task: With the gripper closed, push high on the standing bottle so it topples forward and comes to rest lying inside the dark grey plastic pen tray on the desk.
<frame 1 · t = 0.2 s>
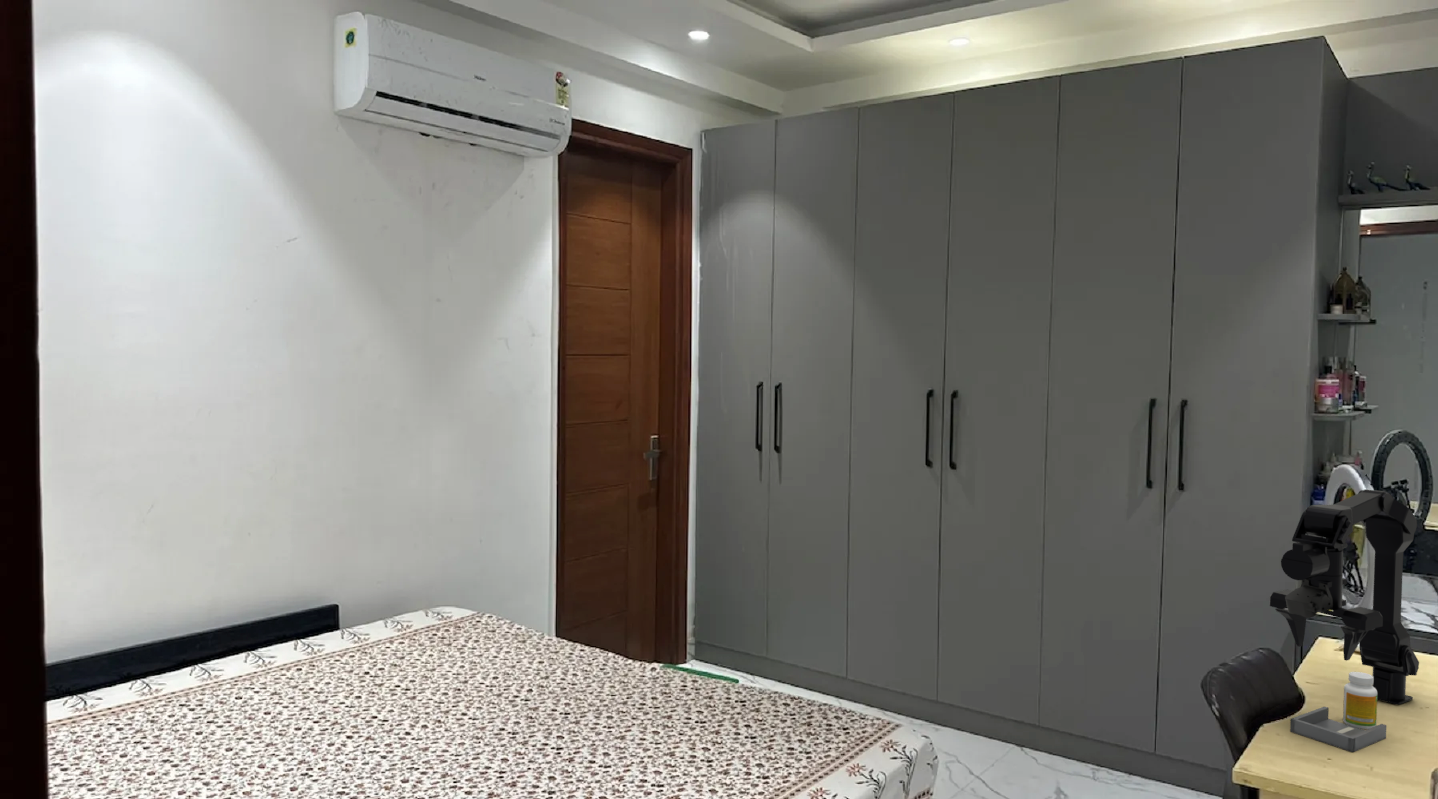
hand: (1322, 653, 186), 14 cm above the table, tool pointing down, fingers open, 9 cm apart
supplement bottle: (1359, 725, 188), on the table
tray: (1337, 734, 182), on the table
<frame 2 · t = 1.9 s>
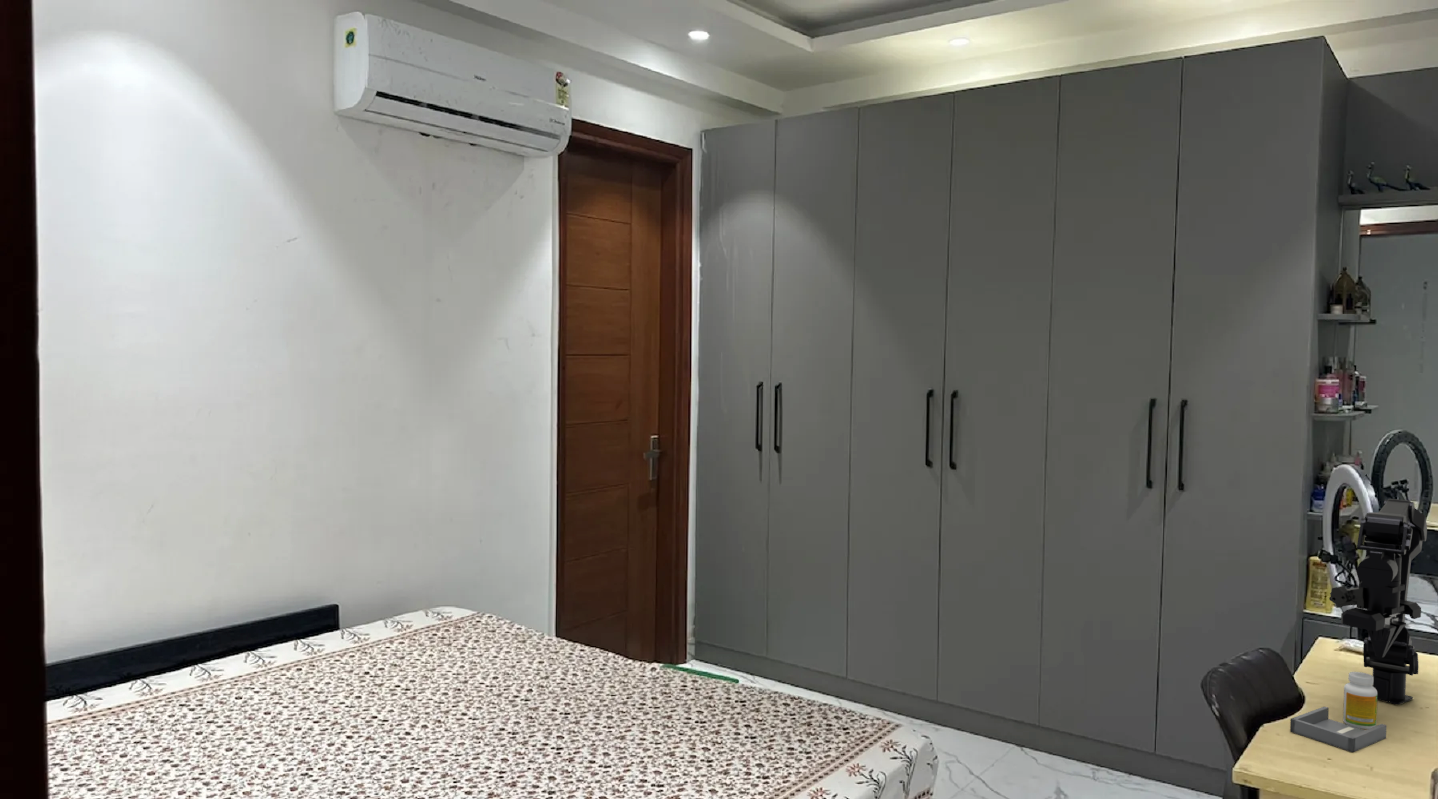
hand: (1379, 656, 190), 12 cm above the table, tool pointing down, fingers closed
nothing on the table moved.
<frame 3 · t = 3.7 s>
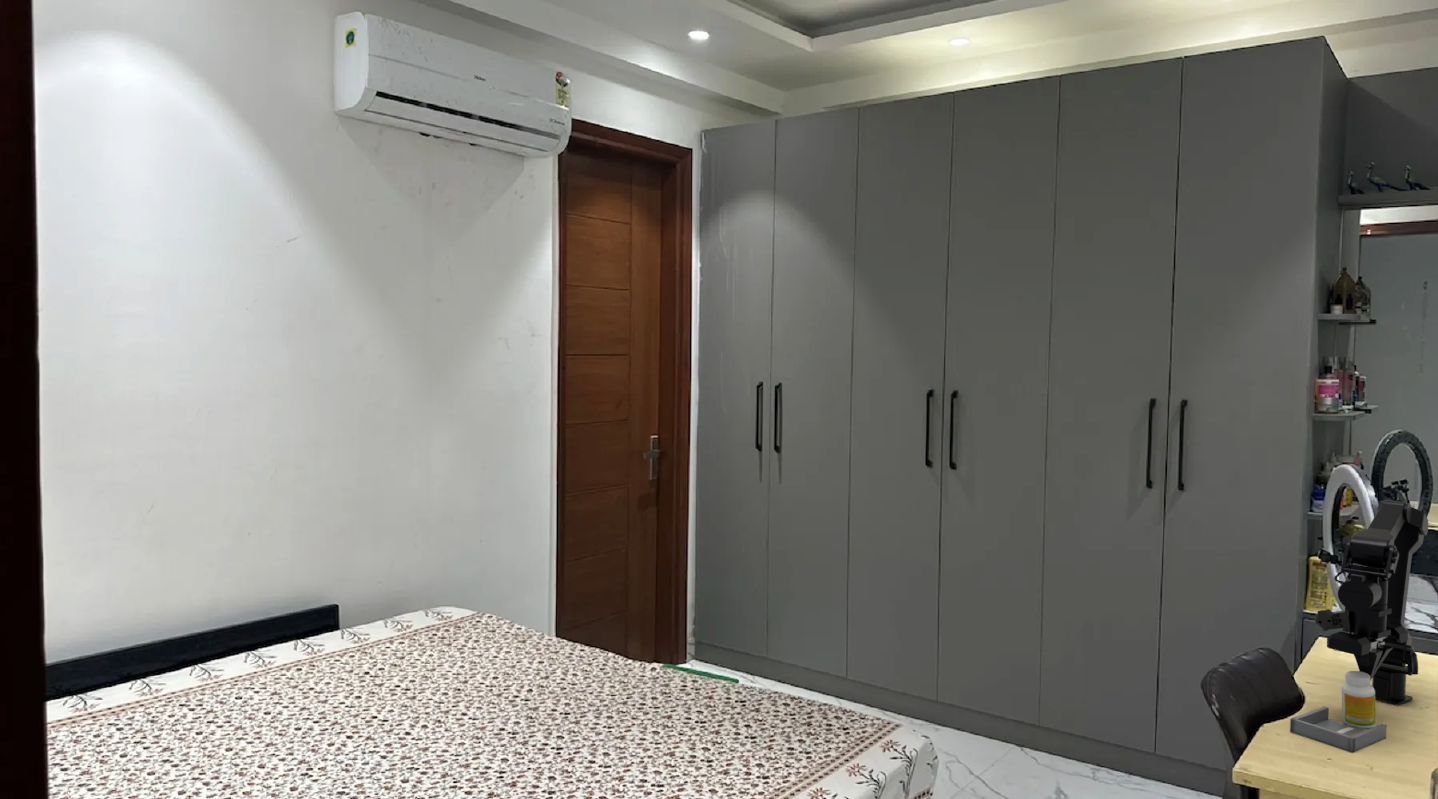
hand: (1366, 681, 188), 8 cm above the table, tool pointing down, fingers closed, pressing on supplement bottle
supplement bottle: (1359, 723, 188), on the table, touching gripper
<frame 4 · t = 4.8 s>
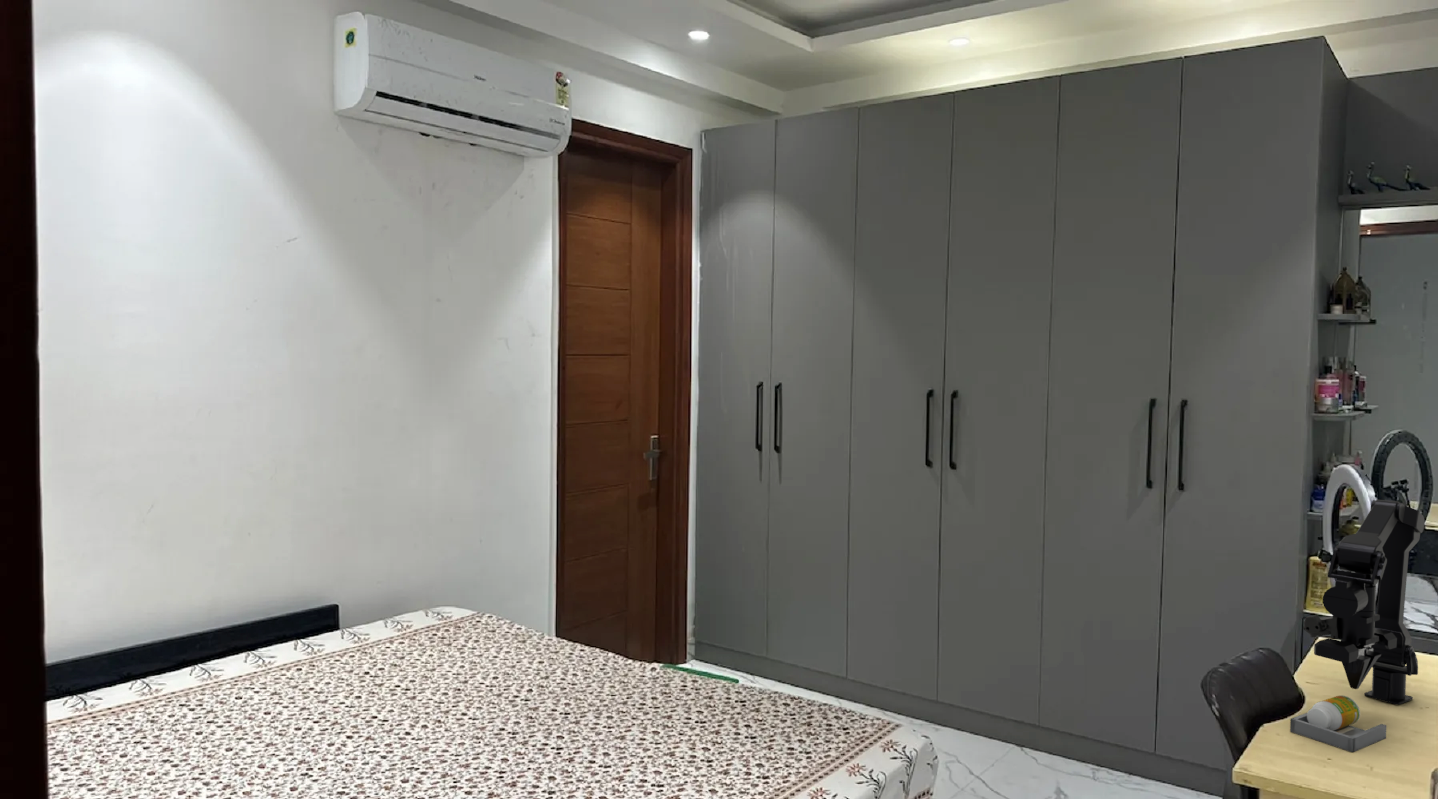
hand: (1354, 688, 186), 8 cm above the table, tool pointing down, fingers closed
supplement bottle: (1346, 709, 187), point 3 cm above the table, touching tray
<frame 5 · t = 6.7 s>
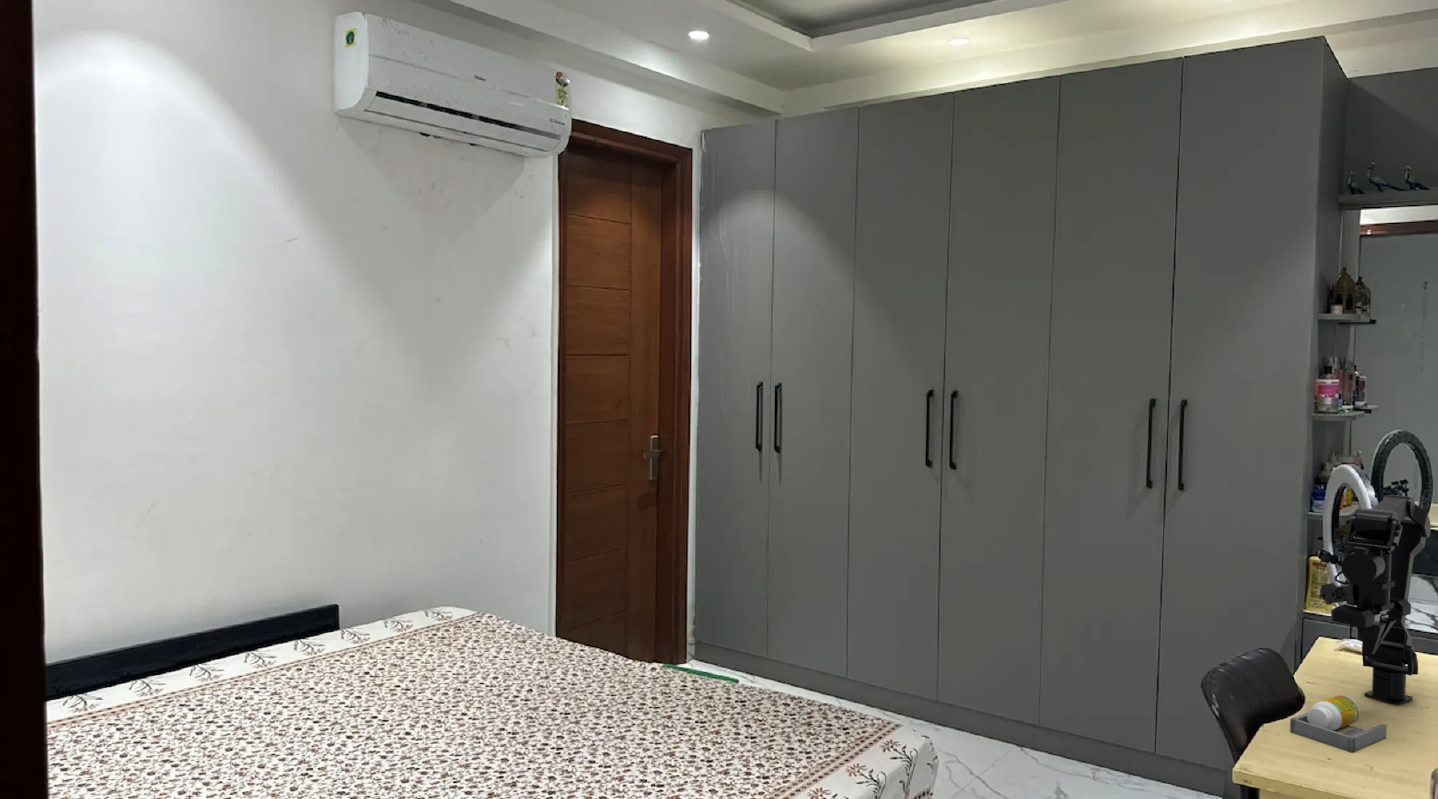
hand: (1369, 654, 189), 13 cm above the table, tool pointing down, fingers closed
nothing on the table moved.
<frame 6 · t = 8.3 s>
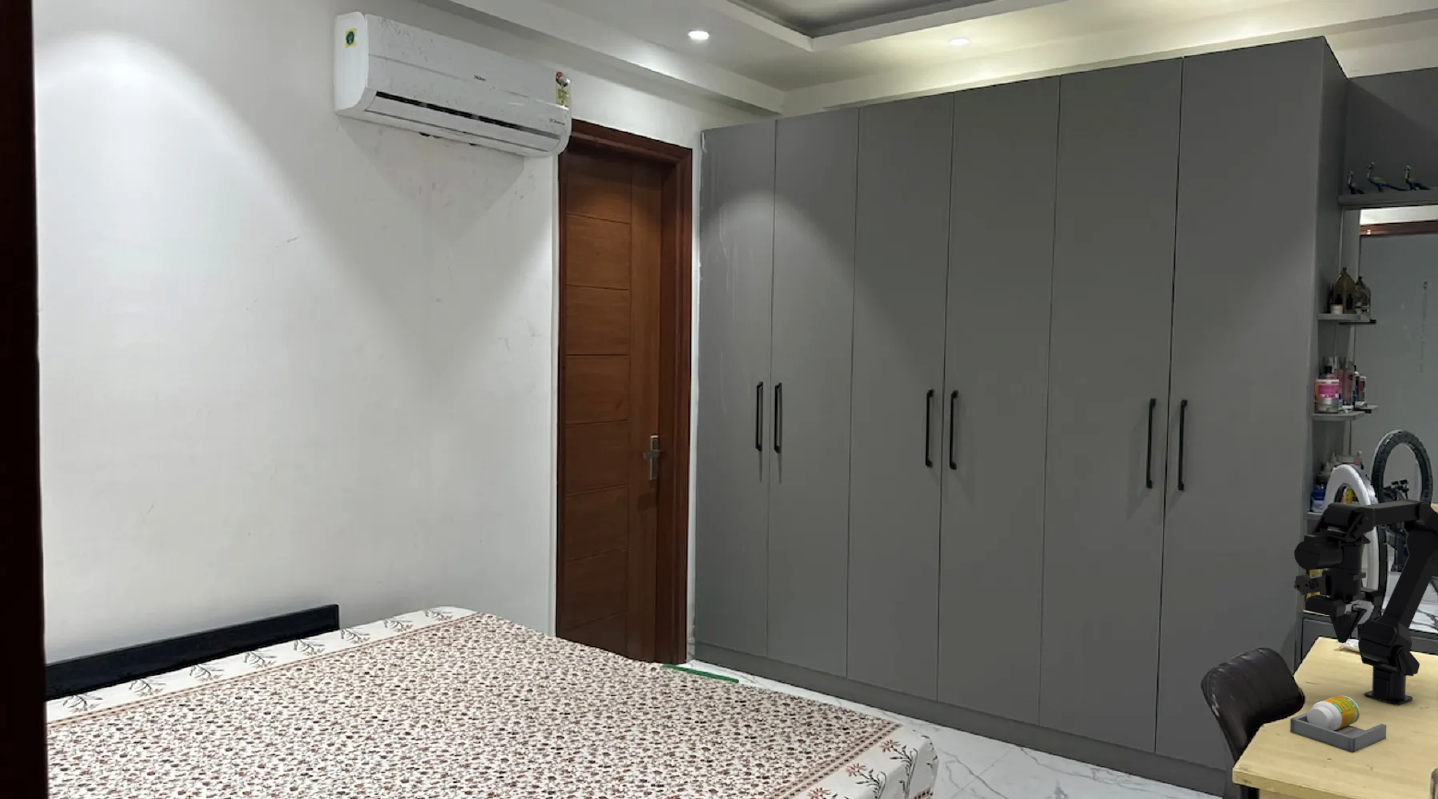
hand: (1342, 642, 196), 13 cm above the table, tool pointing down, fingers closed
nothing on the table moved.
at the end: supplement bottle tilted 90°; supplement bottle inside the target area (6.1 cm from its centre), point 3.0 cm above the table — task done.
